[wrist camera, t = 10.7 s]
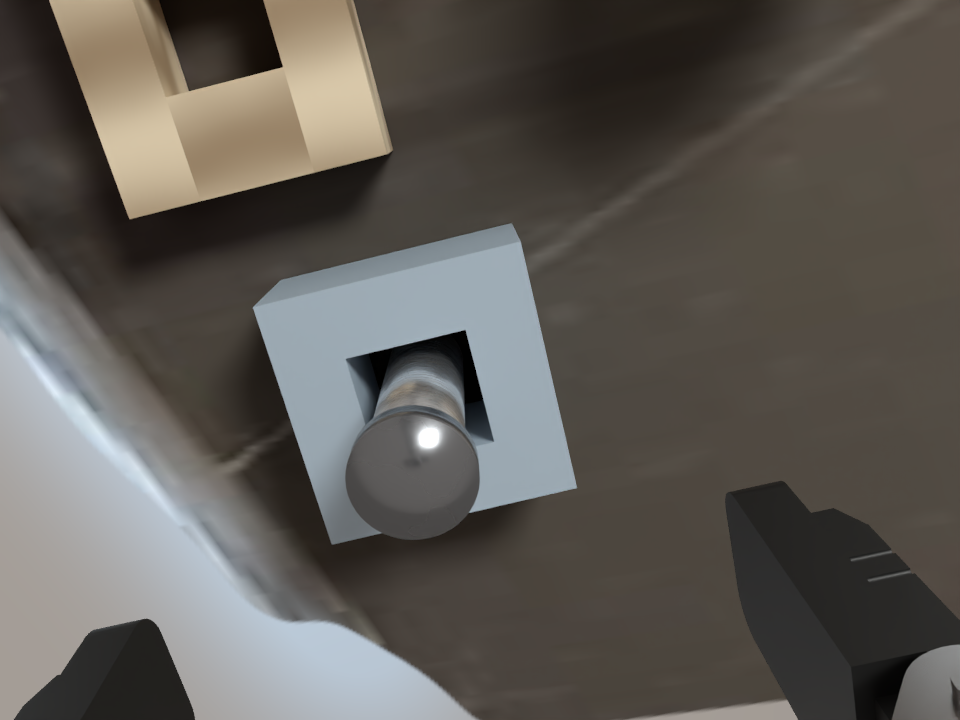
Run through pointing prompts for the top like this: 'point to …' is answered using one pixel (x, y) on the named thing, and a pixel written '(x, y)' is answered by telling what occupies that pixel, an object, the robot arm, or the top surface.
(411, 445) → the pin
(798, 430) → the top surface
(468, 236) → the socket
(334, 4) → the mount
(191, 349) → the top surface
